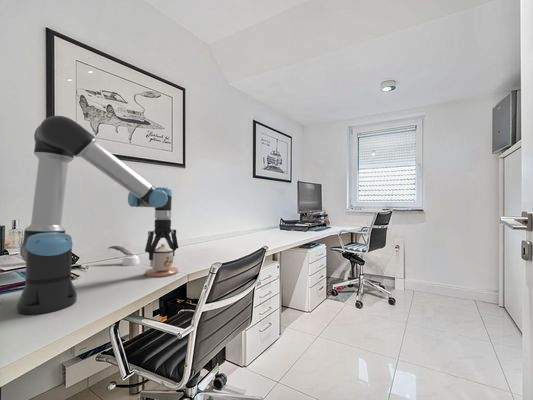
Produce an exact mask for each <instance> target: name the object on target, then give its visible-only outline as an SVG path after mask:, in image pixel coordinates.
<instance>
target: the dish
mask: <svg viewBox="0 0 533 400" xmlns="http://www.w3.org/2000/svg"><path fill="white" fill-rule="evenodd" d="M178 273H179V268H177V267H174V266H172V268H171V269H168V270H154V269H153V267H151V268H149V269H146V270H145V271H144V275H145V276H146V277H149V278H164V277H165V278H166V277H171V276H174V275H177V274H178Z"/></svg>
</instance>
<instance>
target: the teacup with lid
mask: <svg viewBox="0 0 533 400" xmlns="http://www.w3.org/2000/svg"><path fill="white" fill-rule="evenodd" d="M172 252H173V250H172V249H170V247H169V246H166V244H163V243H162V244H161V245H160V246H159V247H156V248H155V251H154V253H155V267H152V268H153V269H154V270H168V269H171V268H172V267H173V264H172Z"/></svg>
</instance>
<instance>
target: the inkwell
mask: <svg viewBox="0 0 533 400" xmlns="http://www.w3.org/2000/svg"><path fill="white" fill-rule="evenodd" d="M108 249H113V250H116V251H120V252H121V253H122V254H124V256H123V258H122V261H121V265H122V266H126V267H127V266H137V265H140V263H141V261H140V258H139V256H138V255H136V254H135V253H132V252H130V250H128V249H126V248H125V247H123V246H119V245H112V246H109V247H108V248H107V250H108Z"/></svg>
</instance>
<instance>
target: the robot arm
mask: <svg viewBox="0 0 533 400" xmlns="http://www.w3.org/2000/svg"><path fill="white" fill-rule="evenodd" d="M33 139H34V142H35V143H34V150H33V151H34V152H33V155H35V157H36V158H37V159H38V164H37V172H36V173H37V174H36V181H35V187H34V197H33V204H32V205H33V207H32V213H31V222H30V224H29V226H27V227H25V228H24V232H23V238H22V239H23V240H22V243H21V246H20V249H19V250H20V251H19V253H20V254H19V255H20V256H21V259H22V260H23V261H24V262H25V285H24V287H23V289H22V292H21V295H20V296H19V297H20V298H19V300H18V302H17V306H16V312H17V313H18V314H22V315H40V314H46V313H52V312H56V311H59V310H62V309H66V308H68V307H71V306H72V305H74V304H75V303H76V302H77V300H78V298H77V297H78V293H77V292H76V288H75V287H74V283H73V281H72V255H73V254H72V253H73V252H72V251H73V240H72V236H71V235H70V234H68V233H66V228H64V227H63V225H62V222H63V221H62V219H63V210H64V201H65V195H66V183H67V176H68V175H67V174H68V168H69V163H70V162H72V161H73V160H74V158H75V157H77V158H82V159H83V160H85V161H86V162H87V163H89V164H90V165H92V166H93V167H95V168H96V169H98V171H100V172H102V174H104V175H106V176H108V178H110V179H111V180H113V181H114V182H116V183H117V184H118V185H120V186H121V187H123V188H124V189H125V190H127V191H128V195H127V204H128V205H129V207H131V208H133V207H134V208H154V218H155V219H154V230H149V231H147V241H146V245H145V248H144V252H145V253H148V260H149V261H150V262H149V263H150V264H149V266H150V267H151V268H153V267H155V253H154V251H155V249H157V246H158V244H159V242H160V240H161V239H164V240H166V242H167V245H168V248H170V249H172V250H173V252H172V265H173V264H174V257H175V251H176V250H177V249H179V244H178V243H179V242H178V238H177V229H172V228H171V227H172V220H171V218H172V200H173V199H172V198H173V196H172V195H173V194H172V193H173V192H172V189H171V188H170V187H162V186H161V187H160V186H159V187H155V186H154V185H152V184H151V183H150V182H148V181H147V180H146V179H144V178H143V177H142V176H141V175H139V174H138V173H137V172H135V171H134V170H133V169H132V168H131V167H130V166H128V165H127V164H125V163H124V162H123V161H121V160H120V159H119V158H118V157H117V156H116V155H114V154H113V153H112V152H110V151H109V150H108V149H106V148H105V146H103V145H102V144H100V143H98V142H97V138H96V136H94V134H92V133H91V132H89V131H88V130H87V129H86V128H85V127H83V126H82V125H81V124H79V123H77V122H76V121H75V120H73V119H72V118H69V117H67V116H64V115H63V116H62V115H52V116H49V117H47V118H45V119H43V121H42V122H41V123H40V124H39V125H38V127H37V128H36V129H35V131H34V134H33ZM154 235H155V236H154Z"/></svg>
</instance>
